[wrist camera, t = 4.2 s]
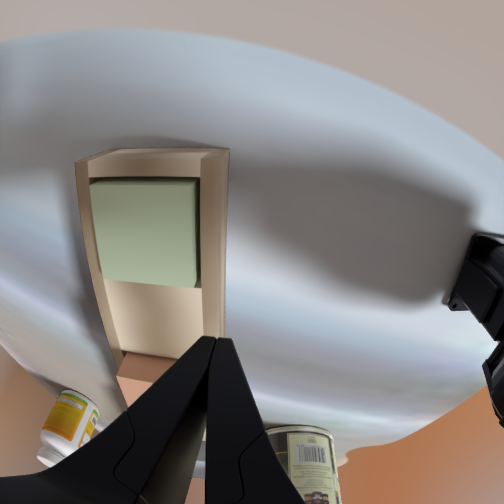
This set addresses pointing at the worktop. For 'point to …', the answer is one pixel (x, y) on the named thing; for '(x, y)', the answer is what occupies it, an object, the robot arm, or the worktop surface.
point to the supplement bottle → (67, 427)
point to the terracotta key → (140, 373)
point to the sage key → (148, 229)
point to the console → (150, 295)
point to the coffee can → (308, 462)
